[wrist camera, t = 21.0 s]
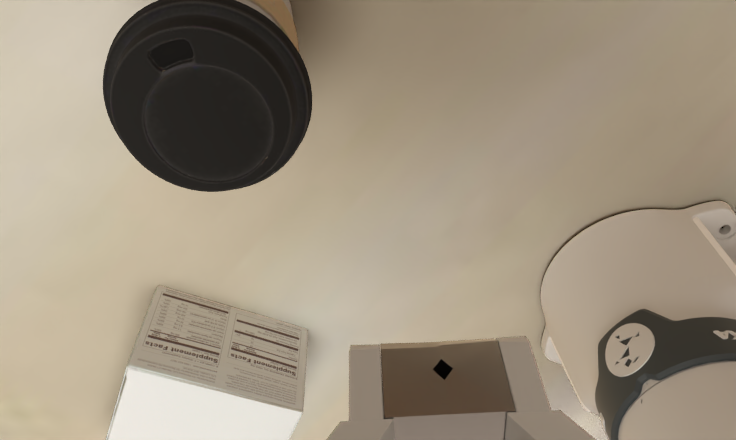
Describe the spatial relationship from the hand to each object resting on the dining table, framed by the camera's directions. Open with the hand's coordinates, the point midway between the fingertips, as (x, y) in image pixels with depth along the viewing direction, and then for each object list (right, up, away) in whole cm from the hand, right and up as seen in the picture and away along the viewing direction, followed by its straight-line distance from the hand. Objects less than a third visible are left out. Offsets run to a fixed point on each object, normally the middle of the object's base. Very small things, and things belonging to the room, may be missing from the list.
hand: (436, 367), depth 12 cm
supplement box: (-15, -11, +48) cm, 52 cm away
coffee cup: (-9, +15, +31) cm, 35 cm away
